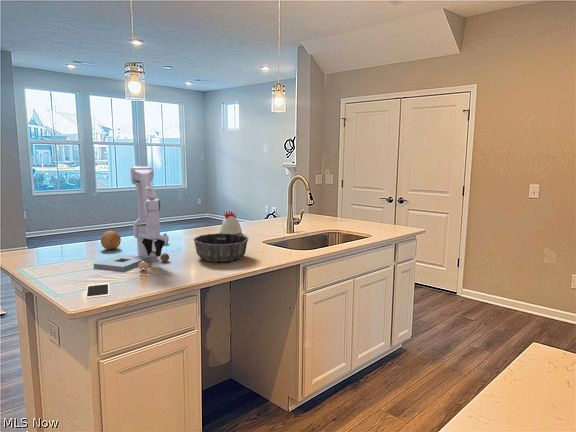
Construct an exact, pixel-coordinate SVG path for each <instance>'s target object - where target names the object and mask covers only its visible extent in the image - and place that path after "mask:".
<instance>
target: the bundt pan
mask: <svg viewBox="0 0 576 432" xmlns="http://www.w3.org/2000/svg"><path fill="white" fill-rule="evenodd" d="M193 241H194V247H195V251H196V254H197V256H198V257H199V258H200V259H202V260H203V261H208V262H214V263H218V262H221V263H225V262H233V261H237V260H239V259H241V258H243V257H244V256H245V254H246V252H247V245H248V242H249V237H247V236H245V235H239V234H229V233H227V234H223V233H220V232H219V233H208V234H207V233H206V234H201V235H198V236H194V238H193Z"/></svg>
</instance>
